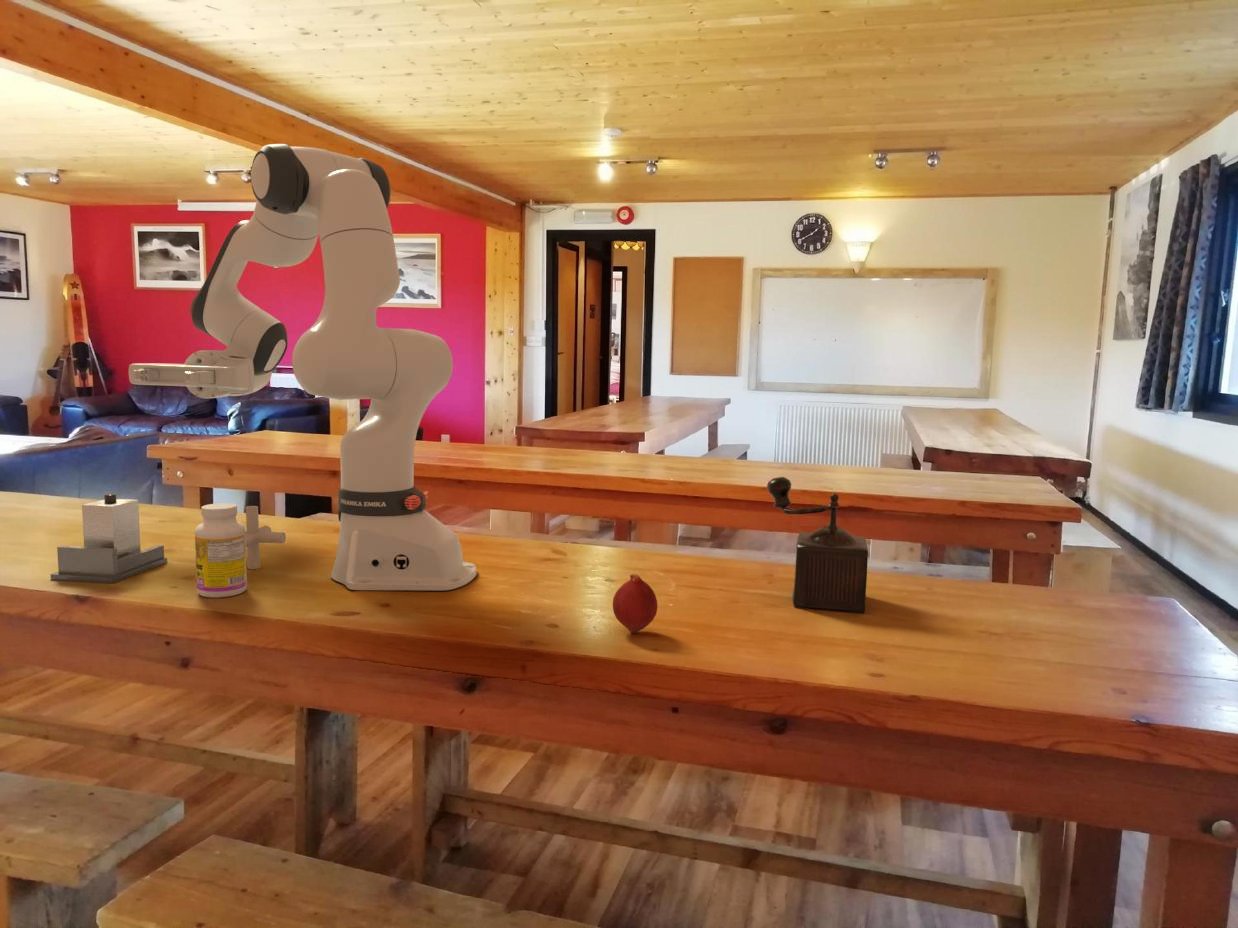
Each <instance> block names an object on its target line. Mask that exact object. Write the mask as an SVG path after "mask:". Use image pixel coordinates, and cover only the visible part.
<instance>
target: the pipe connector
mask: <svg viewBox="0 0 1238 928" xmlns="http://www.w3.org/2000/svg"><path fill="white" fill-rule="evenodd" d="M245 520H246V521H245V524H246V527H245V529H246V530H245V544H246V562H247V569H248V570H249V569H250V570H257V569H260V567H261V562H260V561H261V560H260V544H285V542H286V535H287V534H286V532H284V531H283V532H282V531H281V532H279V531H272V529H271V527H270V526H269V525H263V526H260V527H259V524H260V523H259V506H256V505H247V506H246V507H245Z"/></svg>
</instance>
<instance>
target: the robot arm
mask: <svg viewBox="0 0 1238 928" xmlns="http://www.w3.org/2000/svg"><path fill="white" fill-rule="evenodd" d="M250 173H251V174H250V175H251V176H250V179H251V180H250V181H251V188H252V192H253V195H254V197H255V199H256V203H255V206H254V211H253V214H252V216H251V218H250V219H245V220H240V222H238V223H236V224H235V225H234V226H233V227H232V228H231V229H230V231H229V232H228V233H227V235H226V236H225V238H224V240H223V242H222V244H221V246H220V248H219V250H218V253H217V255H216V258H215V259H214V261H213V263H212V265H211V268H210V270H209V272H208V275H207V277H206V278H205V281H204V283H203V284H202V286H201V288H200V289H199V290H198V291H197V293H196V295H195V296H194V297H193V299H192V301H191V304H190V317H191V320H192V324H193V326H194V327H195V328H196V329H197V330H199V331H201V332H203V333H205V335H206V334H207V335H208V336H210V337H212V338H214V339H216V340H217V341H218V342H220V343H221V344H223V345H224V346H226V348H225V349H222V350H220V349H219V350H218V349H217V350H215V349H214V350H213V349H212V350H208V349H207V350H206V349H205V350H198V351H194V352H193V353H192V354H189V356H188V357H187V358H186V359H185V362H184V363H162V362H160V363H159V362H157V363H156V362H155V363H154V362H152V363H149V362H148V363H146V362H144V363H143V362H138V363H131V364H129V366H128V377H129V378H128V380H129V382H130V384H133V385H138V386H139V385H140V386H141V385H143V386H167V387H168V386H170V387H171V386H172V387H173V386H174V387H186V388H187V389H188V391H189V392H190V393H191V394H192V395H194V396H195V397H198V398H200V399H219V398H226V397H238V396H246V395H250V394H253V393H256V392H258V391H259V390H261V389H263V388H264V387H265V386H267V385H268V383H269V382H270V380H271V378H272V375H273V370H275V369H276V368H277V366H278V365H279V364H280V362H282V360H283V358H284V356H285V354H286V353H287V349H288V341H289V339H288V332H287V328H286V326H285V324H284V323H283V322H281V320H278V319H277V318H276V317H275V316H273V315H271V314H270V313H269V312H267V311H265V310H263V309H262V308H260V307H259V306H258V305H256V304H255V303H253V302H252V301H250V300H249V299H247V298H245V296H243V294H242V293H241V292H240V291H239V288H238V283H239V281H240V279H241V277H242V275H243V273H244V270H245V269H246V267H247V264H248V262H253V263H257V264H261V265H263V266H268V267H272V268H273V267H274V268H287V267H293V266H296V265H299V264H301V263H303V262H305V261H306V260H307V259H308V258H309V257H310V256H311V255H312V253H313V252H314V249H315V247H316V244H317V242H318V239H319V243H320V249H321V250H320V251H321V256H322V266H323V274H324V275H323V276H324V285H325V286H324V290H325V291H324V301H323V304H322V307H321V311H320V314H319V315H318V317H317V319H316V321H315V322H314V323H313V325H311V327H309V328H308V329H307V330H306V331H305V332H303V334H301V336H300V337H299V339H298V340H297V341H296V344H295V345H294V348H293V351H292V357H291V358H292V359H291V364H292V365H291V367H292V370H293V374H294V376H295V379H296V381H297V383H298V384H299V385H300V387H301V388H302V390H304V391H305V392H306V393H307V394H309V395H313V396H316V397H322V398H326V399H332V400H338V401H340V400H345V401H347V400H370V405H369V408H368V410H367V412H366V414H365V415H364V416H363V419H362V420H361V421H360V422H357V423H356V424H355V425H353V426H352V427H350V428H349V429H348V430H347V431H346V432H345V433H344V435H343V437H342V439H341V441H340V445H339V446H340V448H339V449H340V486H339V488H337V515H338V522H339V533H338V534H339V536H338V541H337V542H338V543H337V549H336V550H337V551H336V556H335V559H334V565H333V566H332V567H333V568H332V571H331V574H330V577H331V579H333V581H336V582H339V583H341V584H343V585H345V586H346V588H347V590H352V591H450V590H454V589H458V588H460V587H463V586H465V585H467V584H469V583H470V582H471V581H472V580H473V579H474V578H475V577H476V576H477V567H476V565H475V564H474V563H472V562H466V561H464V559H463V558H464V557H463V550H462V546H461V542H460V539H459V537H458V535H457V533H455V532H454V531H453V530H451V529H449V528H448V527H447V526H446V525H445V524H443V523H442V522H441V521H440V520H439V519H437V518H436V517H434V516H433V515H432V514H430V513H429V512H428V511H427V510H426V499H428V498H429V496H427V495H428V494H429V491H428V490H426V491H424V492H422V490H420V489H419V488H418V487H417V486H415V485H414V475H415V473H414V471H415V470H414V468H415V466H414V465H415V464H414V463H415V450H416V449H415V446H416V439H417V433H418V430H419V427H420V423H421V421H422V418H423V416H424V414H425V413H426V411H427V408H428V406H429V405H430V403H432V401H433V400H434V398H435V397H436V396H438V394H439V393H440V392H442V391H443V390H444V389H445V388H446V386H447V385H448V383H449V381H450V380H451V377H452V375H453V374H452V373H453V370H454V369H453V367H454V363H453V361H454V360H453V356H452V352H451V350H450V347H449V346H448V344H447V343H446V340H445V339H443V338H442V337H441V336H438V335H436V334H433V333H429V332H426V331H421V330H418V329H415V328H414V329H413V328H391V327H390V328H389V327H379V326H378V324H377V311H378V308H379V307H381V306H382V305H384V304H386V303H387V302H389V301H390V300H391V299H392V298H393V297H395V296H396V294H397V292H398V290H399V287H400V283H401V276H400V270H399V266H398V265H399V264H398V258H397V254H396V253H397V252H396V246H395V240H394V234H393V233H394V232H393V228H392V224H391V219H390V216H389V211H388V208H389V206H390V201H391V195H392V193H391V192H392V191H391V183H390V180H389V177H388V175H387V172H386V171H385V169H384V168H383V167H382V166H381V165H380V164H378V163H376V162H374V161H372V160H369V159H366V158H364V157H358V158H357V157H354V156H350V155H347V154H344V153H343V154H342V153H339V152H335V151H329V150H328V149H325V148H317V147H310V146H308V147H307V146H294V145H293V146H292V145H291V146H290V145H288V144H287V143H272V144H265V145H264V146H262V147H261V148H260V149H259V150H258V151H257V152H256V154H255V155H254V157H253V160H252V165H251V172H250Z"/></svg>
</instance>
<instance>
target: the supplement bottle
mask: <svg viewBox="0 0 1238 928" xmlns="http://www.w3.org/2000/svg"><path fill="white" fill-rule="evenodd" d="M200 511H201V516H202V518H203V522H201V523H199V524H198V525H197V526H196V528H195V530H194V540H195V541H194V542H195V543H194V546H195V547H194V549H195V569H196V570H195V572H196V573H195V574H196V575H195V577H196V590H197V593H198V594H199V595H200V596H201V597H204V598H210V599H211V598H212V599H215V598H216V599H218V598H229V597H234V596H238V595H240V594H242V593H244V592H245V591H246V590H247V586H248V576H247V575H248V573H247V547H246V544H245V531H246V527H245V525H244V524H243V523H242V522H241V521H239V520H237V516H238V505H237V504H235V503H230V502H223V503H221V502H220V503H219V502H217V503H210V504H205V505H203V506H201V510H200Z"/></svg>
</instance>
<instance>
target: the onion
mask: <svg viewBox="0 0 1238 928" xmlns="http://www.w3.org/2000/svg"><path fill="white" fill-rule="evenodd" d="M629 577H630V579H629V580H628V581H626V582H625V583H623V584H622V585H621V586H620V587H619V588H618V589H617V591H616V592H615V594H614V596H613V598H612V609H613V610H612V611H613V614H614V616H615V618H616V620H617V622H619V623H620V624H621V625H622V626H624V627H625V628H626V629H627V630H628V631H629V632H630V633H632V634H637V633H639V632H640V631H641V630H643V629H645V628H646V627H648V626H649V625H650V624H651V623H652V621H654V619H655V617H656V616H657V613H658V608H659V607H658V600H657V596H656V593H655V591H654V590H653V589H652V587H651V586H650V585H649V584H648V583H647V582H646V581H644V580H643V579H642V578H641V577H640V575H639V574H637V573H631V574H630V575H629Z"/></svg>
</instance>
